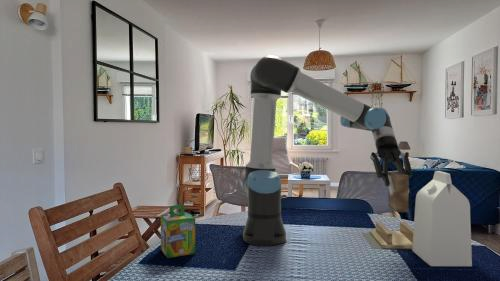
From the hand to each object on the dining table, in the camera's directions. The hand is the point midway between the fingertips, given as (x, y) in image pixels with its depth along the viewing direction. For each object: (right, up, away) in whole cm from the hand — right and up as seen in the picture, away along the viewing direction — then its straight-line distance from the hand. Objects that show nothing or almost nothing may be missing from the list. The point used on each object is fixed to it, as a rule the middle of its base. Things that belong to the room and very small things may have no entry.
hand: (399, 193), depth 119 cm
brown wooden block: (0, -6, +2) cm, 6 cm away
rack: (0, -17, +3) cm, 17 cm away
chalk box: (-73, -18, -6) cm, 76 cm away
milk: (+7, -18, -13) cm, 23 cm away
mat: (0, -17, +3) cm, 17 cm away
